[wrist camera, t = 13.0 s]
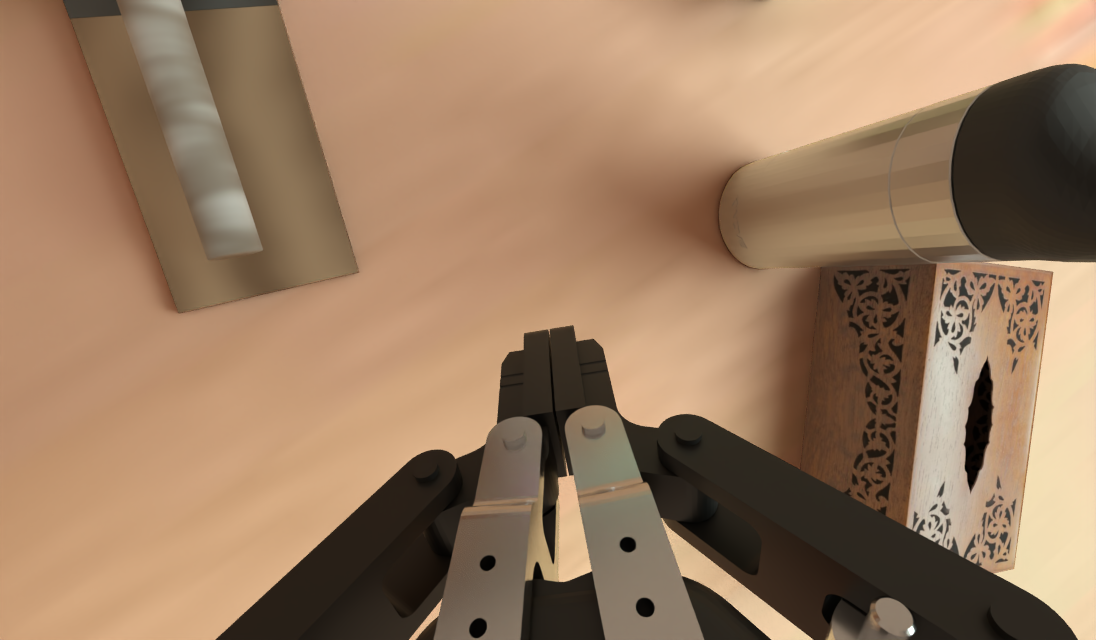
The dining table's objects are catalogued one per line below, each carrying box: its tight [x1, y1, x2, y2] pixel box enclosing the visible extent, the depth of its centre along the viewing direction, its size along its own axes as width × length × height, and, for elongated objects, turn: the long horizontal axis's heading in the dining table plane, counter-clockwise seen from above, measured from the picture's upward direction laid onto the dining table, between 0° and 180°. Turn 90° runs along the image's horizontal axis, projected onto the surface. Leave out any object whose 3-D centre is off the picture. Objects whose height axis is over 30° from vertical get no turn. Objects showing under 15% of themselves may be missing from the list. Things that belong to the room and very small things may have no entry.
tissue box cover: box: [800, 262, 1053, 573], centre depth 42 cm, size 26×14×10 cm, turn 176°
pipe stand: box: [63, 0, 359, 313], centre depth 23 cm, size 10×26×8 cm, turn 14°
